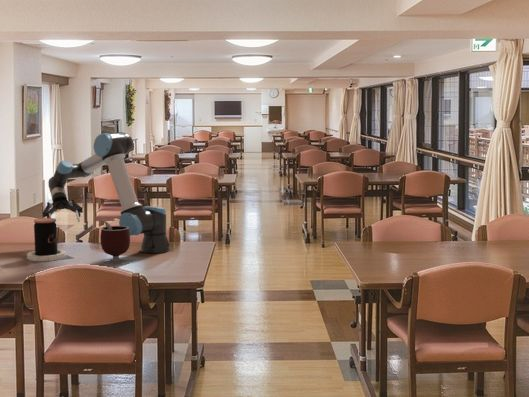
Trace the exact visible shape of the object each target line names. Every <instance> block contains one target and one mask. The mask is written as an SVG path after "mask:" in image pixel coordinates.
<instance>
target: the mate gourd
mask: <svg viewBox="0 0 529 397" xmlns="http://www.w3.org/2000/svg"><path fill="white" fill-rule="evenodd" d="M102 222H103V223H104V224H105V226H104V227H101V228H100V229H101V231H100V246H101V249H102V250H103V252H104V254H107V255H110V256H112V259H108V260H104V261H103V262H102V265H104V266H107V267H120V266H125V265H128V264H130V261H129V260H127V259H123V258H120V256H121V255H123V254H125V253H127V251H128V250H129V249H130V244H131V235H130V232H129V227H126V226H120V225H111V224H110V223H109V222H108V221H106V220H102Z"/></svg>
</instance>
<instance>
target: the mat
mask: <svg viewBox="0 0 529 397" xmlns="http://www.w3.org/2000/svg"><path fill="white" fill-rule="evenodd" d="M19 258H22V259H24V260H26V261H28V262H30V263H32V264H35V265H36V264H42V263H49V262H57V261H65V260H73V259H74V257H73V256H70V255H68V254H66V256H65V258H62V259H58V260H51V261H32V260H29V259H27V254H26V255H19Z"/></svg>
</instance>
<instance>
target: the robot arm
mask: <svg viewBox="0 0 529 397" xmlns="http://www.w3.org/2000/svg"><path fill="white" fill-rule="evenodd" d="M133 149H134V140H133V138H132V137H131V135H129V134H128V133H127V132H122V131H121V132H104V133H101V134H98V135H97V136H96V137H95V139H94V142H93V150H94V154H92V155H91V156H89V157H88V158H87V157H86V159H84V160H83V161H81V162H79V163H73V164H72V163H71V162H70V161H68V160H61V161H60V162H59V163H58V165H57V166H56V170H55V172H54V174H53V176H51V177H50V178H49V179H48V183H47V184H48V189H49V193H50V196H51V201H52V203H51V202H49V201H48V202H47V203H46V207H45V208H44V210H43V212H42V218H52V215H53V213H55V212H57V210H65V209H66V210H67V211H68V210H69V211H70V212H74V213H75V216H76V220H77V223H80V218H81V217H82V216H81V214H82V213H83V212H84V210H83V207H82V206H81V205H79V204H78V203H77V202H75V199H71V200H70V201H69V200H68V198H67V197H68V196H67V193H66V190H65V186H66V184H67V181H68V180H69V179H77V178H88V177H89V176H91V175H92V173H93V172H94V171H96V170H98V169H100V168H102V167H104V165H107V168H108V170H109V174H110V177H111V180H112V182H113V186H114V188H115V191H116V194H117V197H118V201H119V203H120V206H121V210H120V216H119V221H118V226H126V227H129V232H130V237H131V236H138V235H142V234H143V237H142V242H141V246H140V252H142V253H145V254H147V253H148V254H162V253H167V252H170V251H171V244H170V242H169V239H168V236H167V210H166V208H165V207H164V206H163V207H162V206H150V205H149V206H143V204H141V203H140V202H139V200H138V197H137V194H136V191H135V188H134V186H133V183H132V179H131V177H130V175H129V174H130V173H129V172H128V168H127V165H126V162H125V157H126V155H128V154H130V153H131V152H132V150H133Z"/></svg>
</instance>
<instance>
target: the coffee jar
mask: <svg viewBox="0 0 529 397" xmlns="http://www.w3.org/2000/svg"><path fill="white" fill-rule="evenodd" d="M33 222H34V225H33V231H34V232H33V234H34V236H33V237H34V251H35V255H37V256H48V255H56V254H57V249H58V234H57V233H58V232H57V219H56V218H55V217H51V218H47V217H42V218H41V217H40V218H36V219H33Z"/></svg>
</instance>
